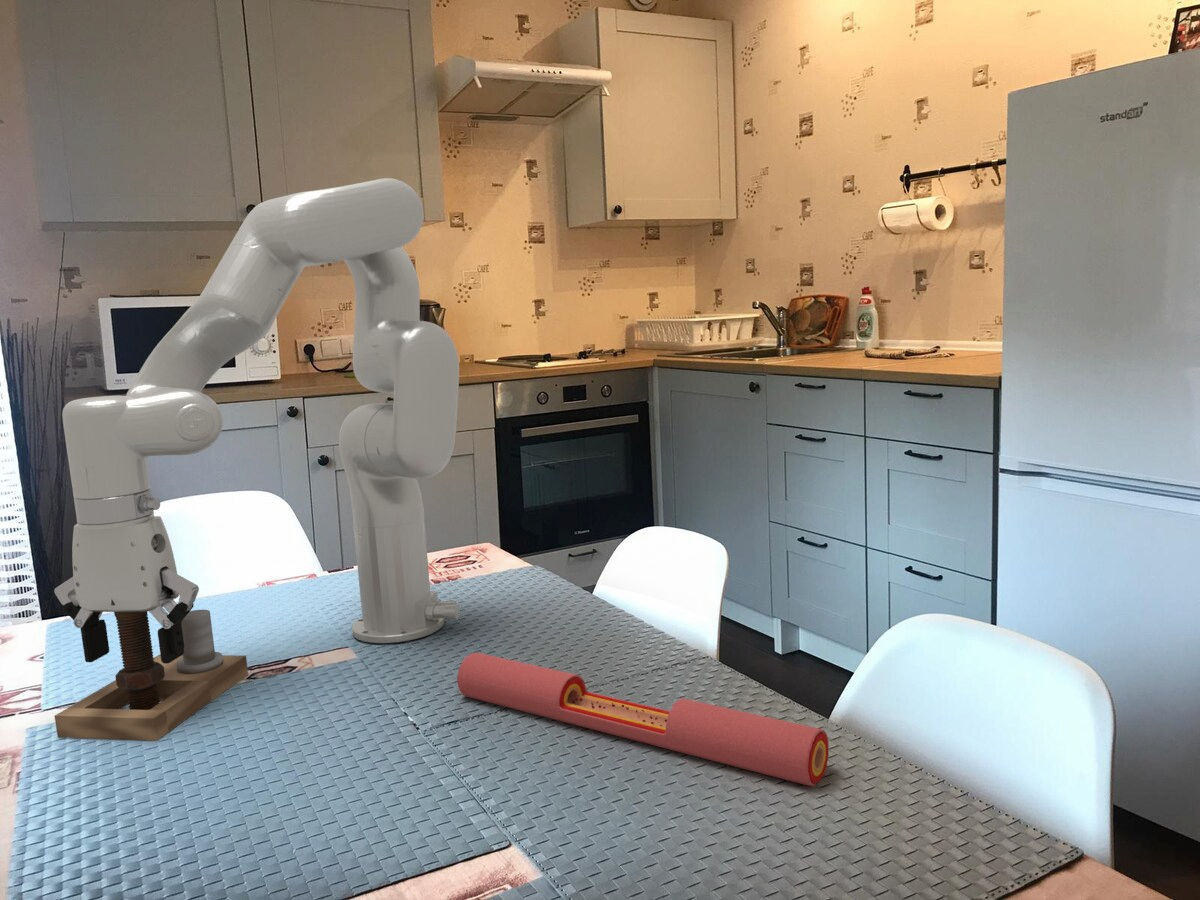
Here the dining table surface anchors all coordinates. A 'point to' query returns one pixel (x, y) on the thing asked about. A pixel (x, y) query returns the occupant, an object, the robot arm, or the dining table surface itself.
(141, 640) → the bolt
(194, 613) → the wooden peg holder
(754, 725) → the blood vessel
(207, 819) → the dining table surface
